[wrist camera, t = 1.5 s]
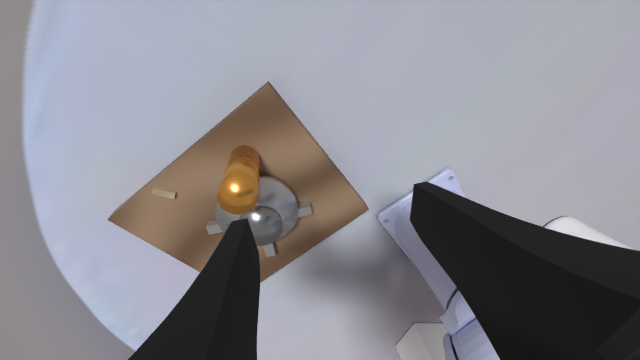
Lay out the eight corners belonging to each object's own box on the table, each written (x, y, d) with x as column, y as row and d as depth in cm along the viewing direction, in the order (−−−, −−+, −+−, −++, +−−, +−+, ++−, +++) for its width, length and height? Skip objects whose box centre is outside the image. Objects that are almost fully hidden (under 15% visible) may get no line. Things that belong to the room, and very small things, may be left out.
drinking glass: (524, 229, 29) (722, 377, 17) (579, 199, 28) (834, 331, 16) (529, 258, 33) (696, 400, 20) (578, 232, 32) (786, 363, 19)
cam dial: (315, 240, 22) (326, 289, 18) (224, 259, 21) (214, 315, 17) (299, 136, 17) (311, 169, 13) (179, 155, 16) (148, 197, 12)
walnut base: (364, 201, 23) (369, 210, 21) (242, 284, 25) (240, 297, 24) (268, 81, 16) (268, 85, 15) (115, 209, 19) (105, 221, 17)
